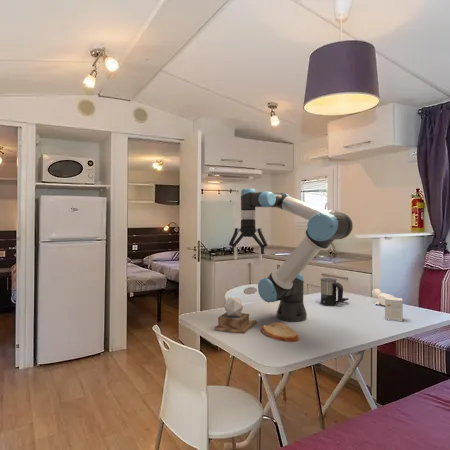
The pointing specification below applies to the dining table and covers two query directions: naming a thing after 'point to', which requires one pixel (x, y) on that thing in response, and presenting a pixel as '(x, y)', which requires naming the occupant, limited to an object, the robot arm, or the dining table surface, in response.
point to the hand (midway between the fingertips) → (247, 260)
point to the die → (233, 306)
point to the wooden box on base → (235, 323)
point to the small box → (393, 308)
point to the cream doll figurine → (380, 296)
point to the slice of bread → (280, 332)
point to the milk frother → (331, 292)
